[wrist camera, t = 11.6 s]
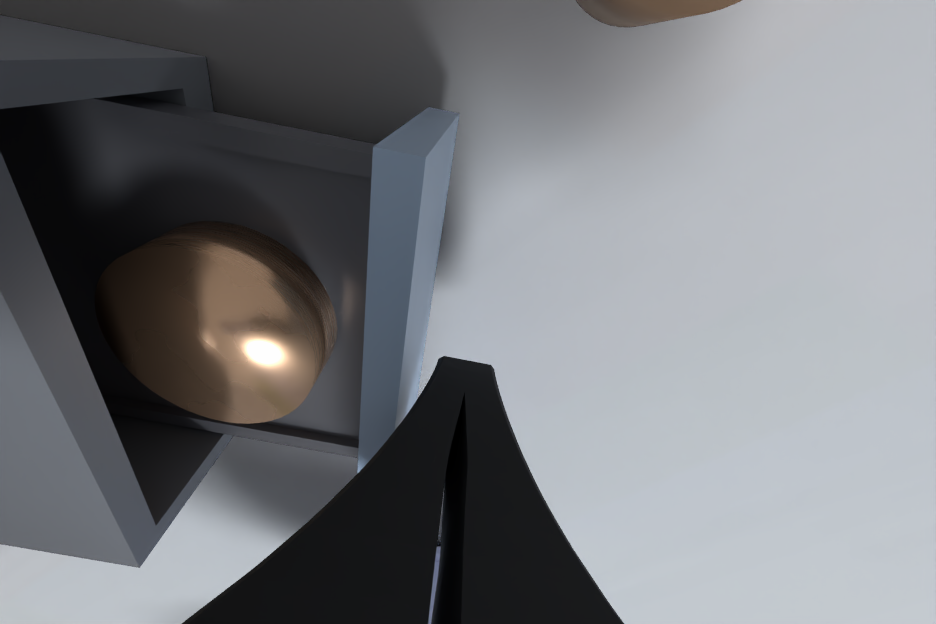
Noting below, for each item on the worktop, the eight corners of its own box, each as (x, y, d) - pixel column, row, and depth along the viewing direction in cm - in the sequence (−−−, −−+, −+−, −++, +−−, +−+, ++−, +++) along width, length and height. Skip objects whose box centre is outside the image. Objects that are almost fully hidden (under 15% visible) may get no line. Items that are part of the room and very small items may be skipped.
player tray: (459, 113, 9) (425, 157, 5) (409, 449, 16) (377, 582, 12) (-34, 12, 9) (-443, -17, 5) (116, 396, 15) (-18, 515, 11)
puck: (106, 228, 10) (46, 254, 9) (303, 212, 10) (270, 238, 8) (198, 385, 13) (162, 424, 12) (357, 381, 12) (338, 422, 11)
